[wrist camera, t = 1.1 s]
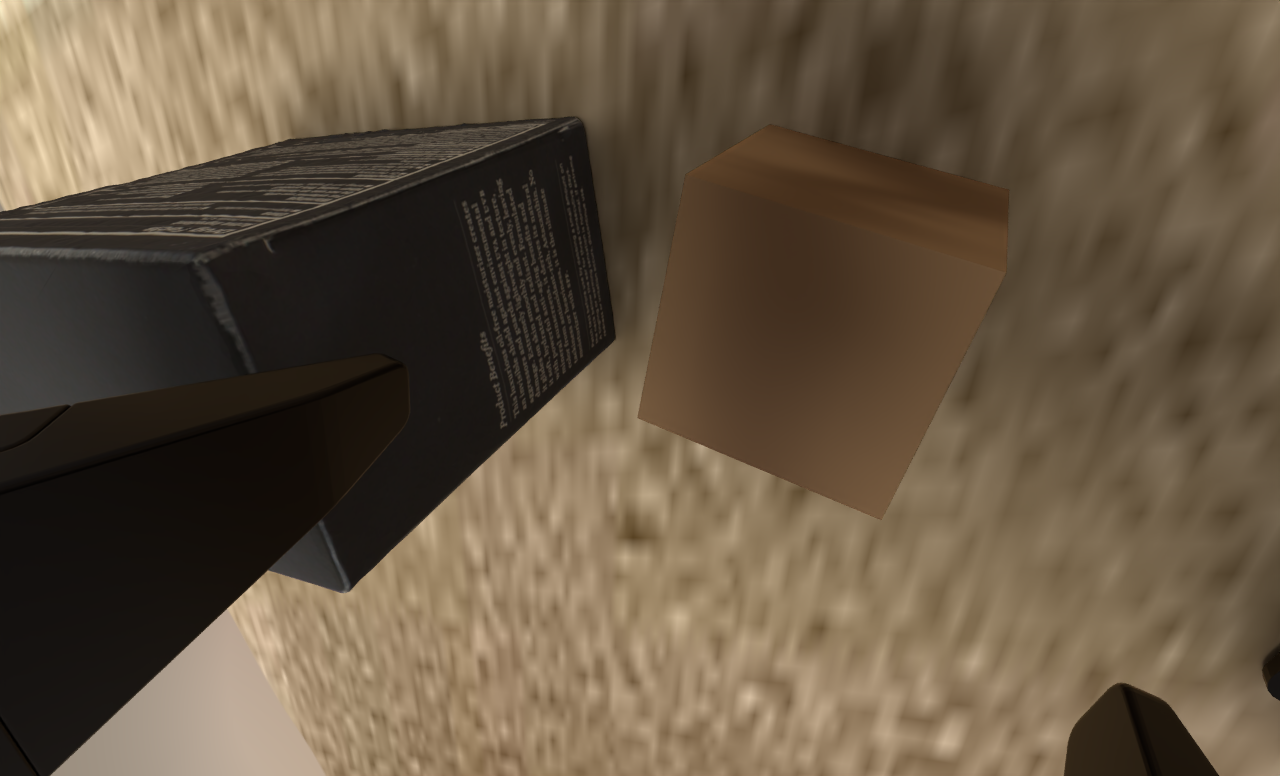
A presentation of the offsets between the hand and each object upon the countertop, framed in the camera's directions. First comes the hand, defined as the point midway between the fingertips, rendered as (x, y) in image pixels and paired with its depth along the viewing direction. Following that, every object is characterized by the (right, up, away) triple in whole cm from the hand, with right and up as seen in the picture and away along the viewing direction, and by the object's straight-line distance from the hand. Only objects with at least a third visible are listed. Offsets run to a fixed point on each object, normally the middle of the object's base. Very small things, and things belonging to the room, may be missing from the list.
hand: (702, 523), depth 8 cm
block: (+4, +4, +7) cm, 10 cm away
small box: (-6, +6, +12) cm, 15 cm away
